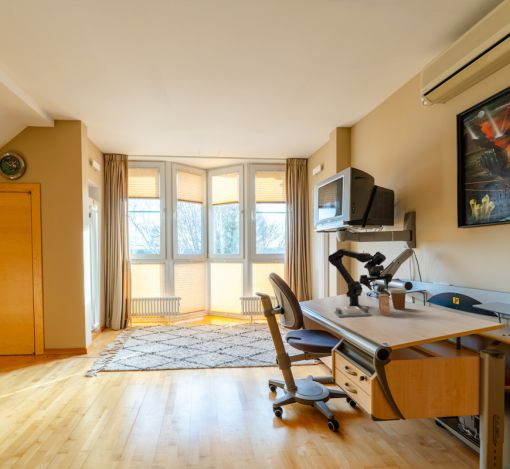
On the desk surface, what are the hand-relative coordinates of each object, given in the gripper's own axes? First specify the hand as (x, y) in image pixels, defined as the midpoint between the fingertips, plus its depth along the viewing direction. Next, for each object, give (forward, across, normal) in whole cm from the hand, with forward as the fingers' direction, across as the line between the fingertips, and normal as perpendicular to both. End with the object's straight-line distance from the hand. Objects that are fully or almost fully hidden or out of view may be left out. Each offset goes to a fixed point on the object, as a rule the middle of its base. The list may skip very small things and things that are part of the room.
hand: (379, 289), depth 209 cm
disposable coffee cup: (+4, +13, +15) cm, 20 cm away
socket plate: (+11, -17, +8) cm, 22 cm away
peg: (+14, 0, +4) cm, 15 cm away
